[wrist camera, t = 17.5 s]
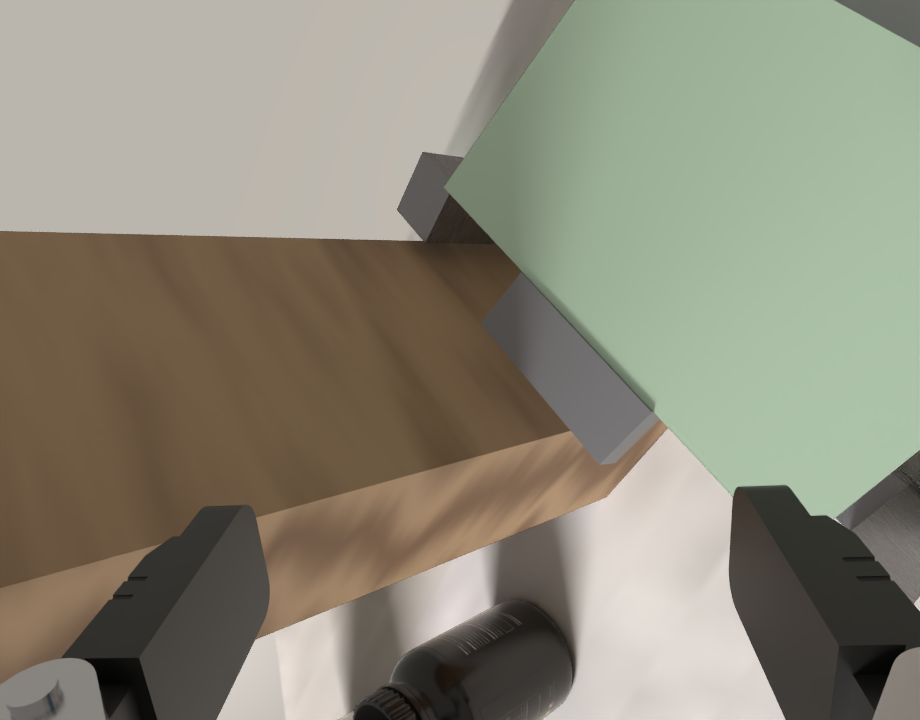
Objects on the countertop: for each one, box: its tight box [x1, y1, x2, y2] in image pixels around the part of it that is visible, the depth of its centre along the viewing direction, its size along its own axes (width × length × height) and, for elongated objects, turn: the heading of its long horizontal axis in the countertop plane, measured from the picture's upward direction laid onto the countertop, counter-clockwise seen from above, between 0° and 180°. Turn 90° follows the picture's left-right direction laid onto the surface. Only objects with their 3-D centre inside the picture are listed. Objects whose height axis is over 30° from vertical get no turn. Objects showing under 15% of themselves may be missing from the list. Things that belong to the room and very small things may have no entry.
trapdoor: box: [444, 0, 920, 519], centre depth 22 cm, size 14×18×1 cm
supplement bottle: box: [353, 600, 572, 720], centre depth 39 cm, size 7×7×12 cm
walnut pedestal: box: [0, 231, 668, 685], centre depth 27 cm, size 8×12×32 cm
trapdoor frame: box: [397, 152, 920, 604], centre depth 29 cm, size 3×24×10 cm, turn 55°
